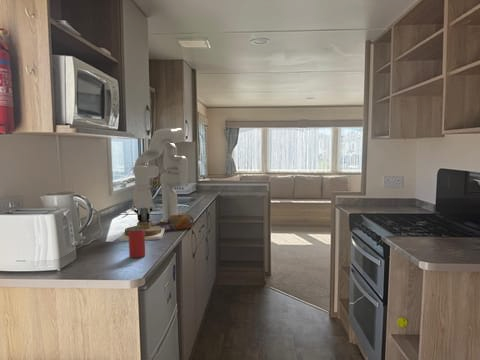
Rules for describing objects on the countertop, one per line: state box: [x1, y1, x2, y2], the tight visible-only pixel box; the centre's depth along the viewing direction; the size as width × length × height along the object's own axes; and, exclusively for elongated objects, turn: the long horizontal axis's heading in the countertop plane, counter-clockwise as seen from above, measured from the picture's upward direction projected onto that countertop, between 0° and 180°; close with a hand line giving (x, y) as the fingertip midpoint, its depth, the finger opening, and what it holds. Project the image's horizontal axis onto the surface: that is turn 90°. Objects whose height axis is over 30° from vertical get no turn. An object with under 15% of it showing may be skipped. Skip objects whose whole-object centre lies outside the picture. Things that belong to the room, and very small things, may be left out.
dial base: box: [118, 227, 166, 242], centre depth 192 cm, size 21×21×2 cm
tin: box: [167, 213, 194, 230], centre depth 209 cm, size 15×3×8 cm, turn 105°
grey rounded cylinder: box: [140, 208, 147, 223], centre depth 197 cm, size 4×4×10 cm
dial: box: [124, 219, 162, 236], centre depth 192 cm, size 19×19×4 cm
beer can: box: [128, 228, 146, 259], centre depth 153 cm, size 7×7×12 cm
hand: (143, 220), depth 197 cm, fingers closed on grey rounded cylinder, 3 cm apart
